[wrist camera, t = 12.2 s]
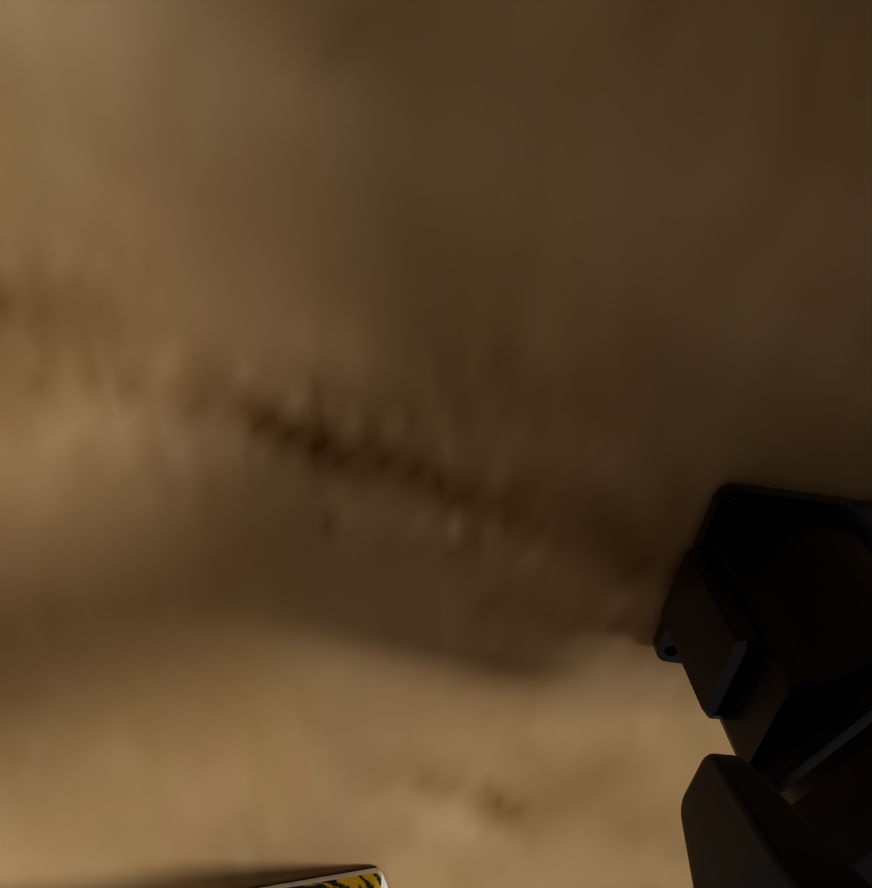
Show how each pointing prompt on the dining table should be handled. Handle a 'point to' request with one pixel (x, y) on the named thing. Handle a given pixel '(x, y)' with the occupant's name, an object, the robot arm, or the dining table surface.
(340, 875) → the medicine bottle
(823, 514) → the robot arm
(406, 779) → the dining table surface
